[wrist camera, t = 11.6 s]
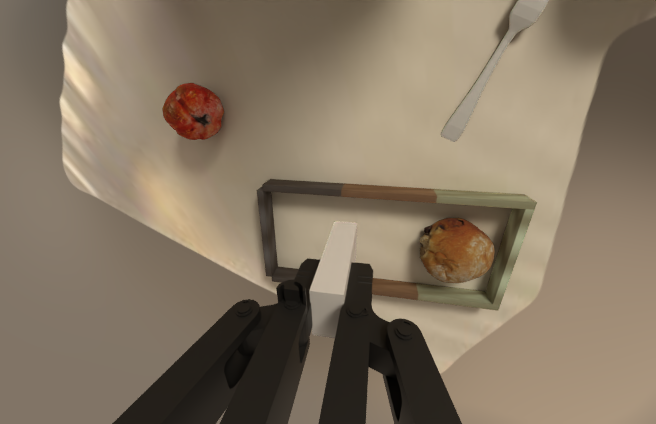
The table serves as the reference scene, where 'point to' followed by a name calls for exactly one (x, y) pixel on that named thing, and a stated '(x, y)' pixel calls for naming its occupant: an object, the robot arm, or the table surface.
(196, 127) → the pomegranate
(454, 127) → the fork
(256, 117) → the table surface
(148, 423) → the robot arm
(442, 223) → the bread roll
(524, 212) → the multicolored rectangular frame
